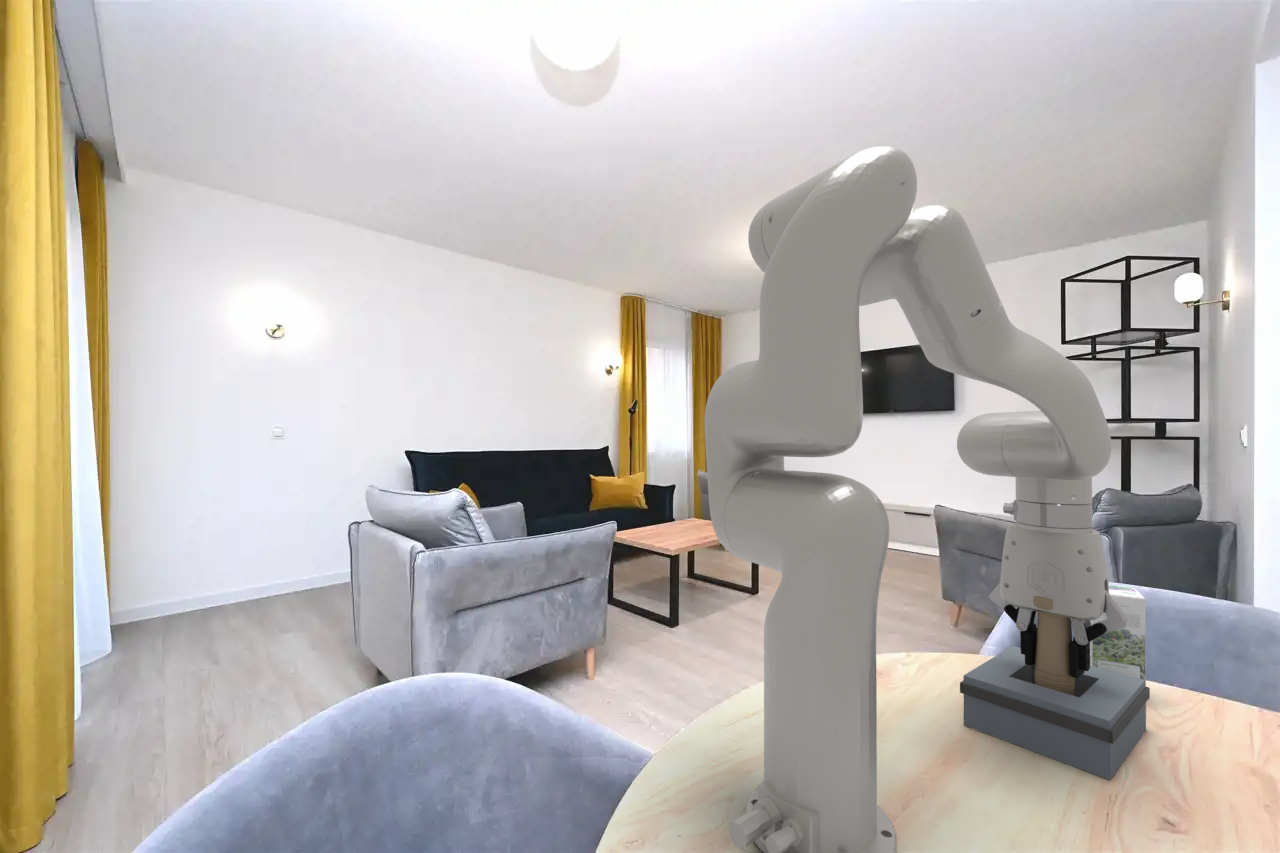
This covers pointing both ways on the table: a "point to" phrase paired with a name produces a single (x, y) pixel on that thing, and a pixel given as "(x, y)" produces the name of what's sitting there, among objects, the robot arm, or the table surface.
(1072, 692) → the handle
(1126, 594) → the syrup box
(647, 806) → the table surface
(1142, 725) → the collar block
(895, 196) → the robot arm
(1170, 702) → the table surface
